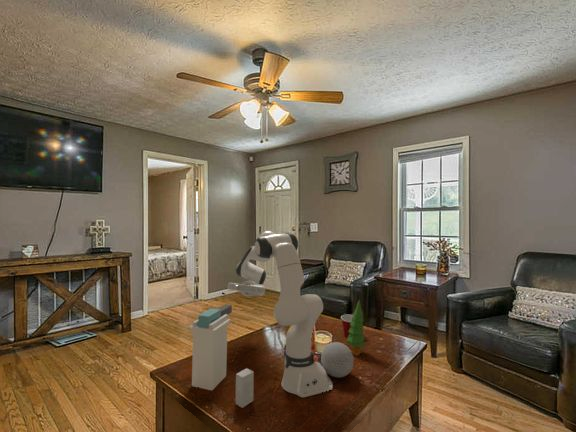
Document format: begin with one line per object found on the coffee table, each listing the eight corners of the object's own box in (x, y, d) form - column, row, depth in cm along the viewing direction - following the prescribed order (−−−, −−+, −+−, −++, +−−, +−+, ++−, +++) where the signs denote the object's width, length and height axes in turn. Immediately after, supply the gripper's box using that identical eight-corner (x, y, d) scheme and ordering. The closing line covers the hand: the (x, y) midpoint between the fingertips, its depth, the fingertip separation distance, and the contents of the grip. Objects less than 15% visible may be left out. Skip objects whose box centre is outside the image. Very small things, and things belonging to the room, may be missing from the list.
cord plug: (223, 311, 148) (224, 301, 148) (232, 312, 146) (233, 302, 146) (198, 326, 127) (198, 315, 127) (208, 328, 125) (208, 316, 125)
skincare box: (246, 396, 121) (246, 367, 121) (253, 401, 118) (254, 371, 118) (234, 403, 116) (235, 373, 116) (242, 408, 114) (242, 377, 114)
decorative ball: (353, 370, 144) (354, 339, 144) (351, 387, 130) (353, 353, 130) (322, 365, 148) (324, 335, 148) (318, 380, 134) (319, 347, 134)
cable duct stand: (206, 370, 140) (208, 311, 140) (229, 375, 137) (230, 315, 137) (188, 386, 127) (189, 321, 127) (212, 392, 123) (214, 325, 123)
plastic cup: (339, 338, 181) (339, 319, 181) (341, 332, 191) (341, 313, 191) (357, 341, 178) (357, 321, 178) (358, 334, 188) (358, 315, 188)
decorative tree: (365, 357, 158) (367, 301, 157) (348, 356, 158) (349, 300, 158) (361, 349, 167) (362, 296, 167) (344, 348, 168) (346, 295, 167)
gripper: (230, 280, 168) (226, 279, 154) (266, 285, 167) (265, 284, 154) (228, 291, 166) (224, 291, 153) (264, 296, 166) (263, 297, 153)
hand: (245, 288), depth 153 cm, fingers open, 8 cm apart
